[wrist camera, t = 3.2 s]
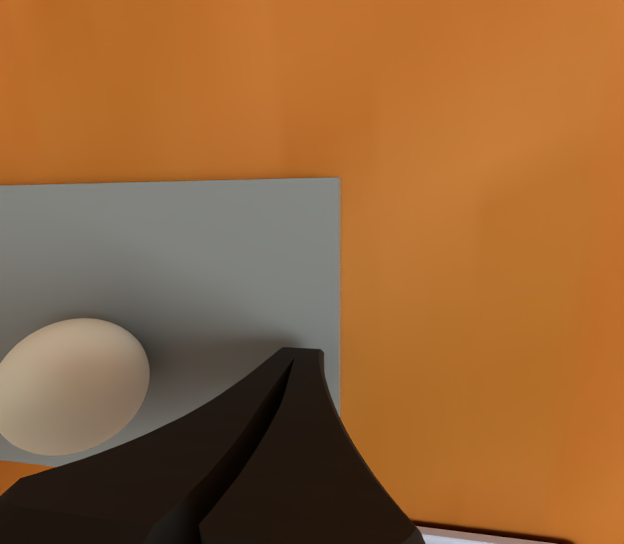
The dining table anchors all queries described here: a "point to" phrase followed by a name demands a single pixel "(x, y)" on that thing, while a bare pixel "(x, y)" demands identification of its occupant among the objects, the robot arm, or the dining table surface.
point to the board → (177, 280)
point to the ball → (71, 386)
